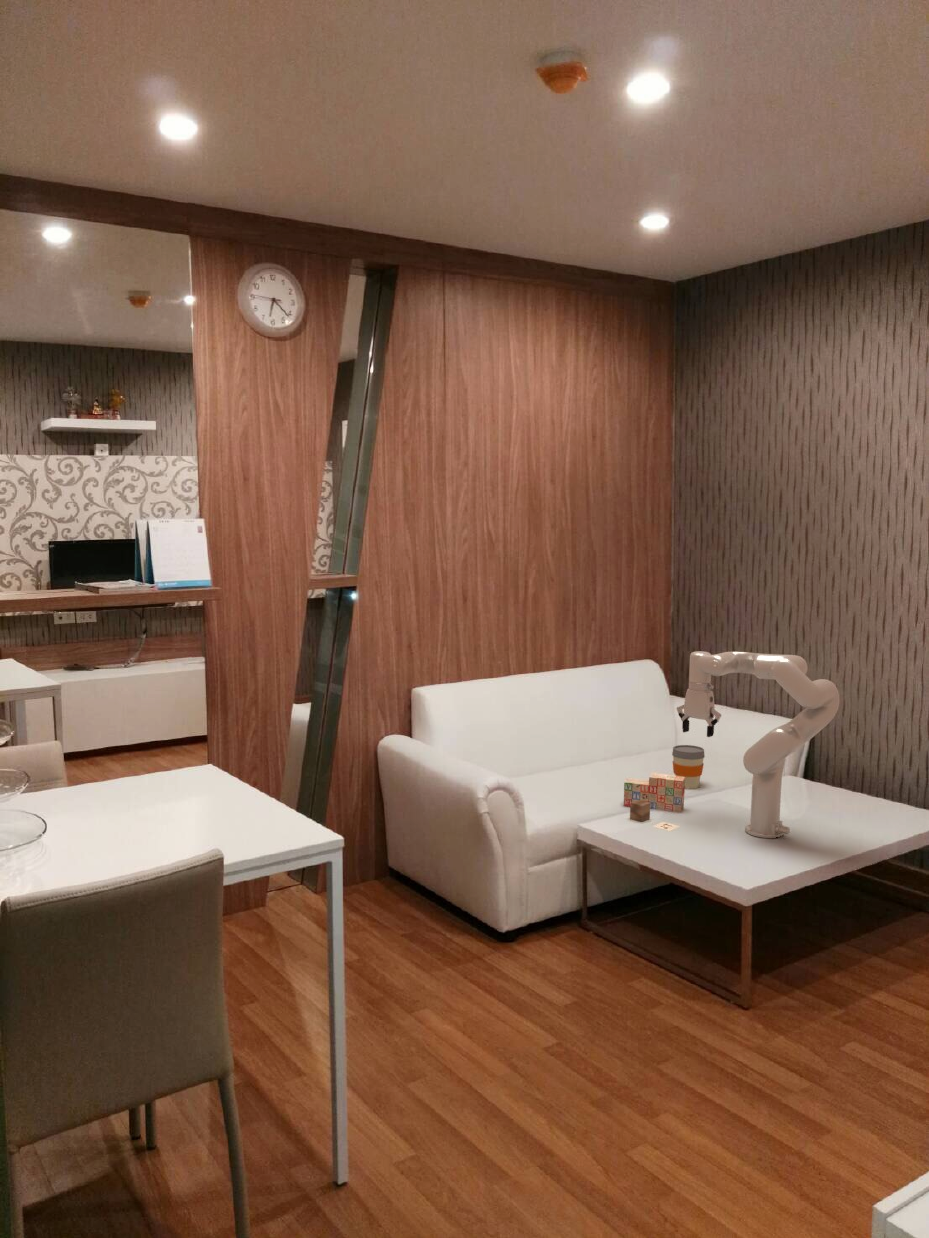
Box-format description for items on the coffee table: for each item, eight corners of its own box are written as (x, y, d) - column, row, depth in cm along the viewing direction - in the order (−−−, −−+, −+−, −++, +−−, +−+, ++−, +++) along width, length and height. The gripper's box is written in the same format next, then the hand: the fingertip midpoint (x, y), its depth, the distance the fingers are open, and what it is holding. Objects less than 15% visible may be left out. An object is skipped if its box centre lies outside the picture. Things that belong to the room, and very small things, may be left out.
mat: (690, 825, 353) (690, 824, 353) (665, 835, 341) (666, 834, 341) (640, 811, 367) (640, 810, 367) (614, 821, 355) (614, 820, 355)
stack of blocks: (623, 806, 373) (624, 774, 372) (626, 801, 379) (627, 769, 378) (681, 813, 366) (682, 780, 364) (684, 808, 372) (685, 776, 370)
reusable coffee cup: (685, 791, 393) (687, 754, 391) (664, 783, 404) (665, 746, 402) (710, 787, 399) (711, 750, 397) (688, 779, 410) (690, 743, 408)
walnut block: (649, 819, 358) (650, 802, 357) (641, 822, 354) (642, 805, 353) (637, 816, 361) (638, 799, 360) (629, 819, 358) (630, 802, 357)
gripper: (727, 688, 353) (725, 736, 355) (683, 682, 365) (682, 728, 367) (716, 691, 348) (714, 740, 350) (672, 684, 359) (670, 731, 361)
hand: (697, 734), depth 358 cm, fingers open, 9 cm apart
